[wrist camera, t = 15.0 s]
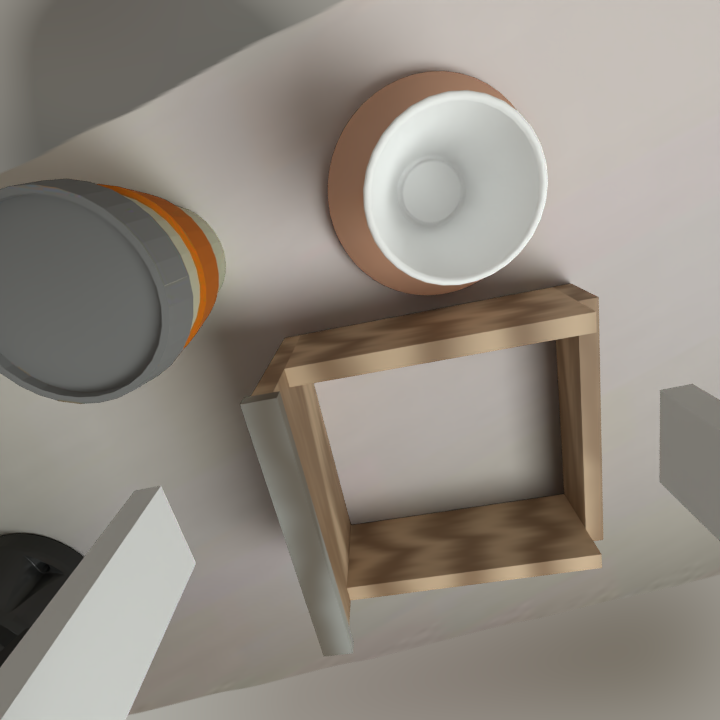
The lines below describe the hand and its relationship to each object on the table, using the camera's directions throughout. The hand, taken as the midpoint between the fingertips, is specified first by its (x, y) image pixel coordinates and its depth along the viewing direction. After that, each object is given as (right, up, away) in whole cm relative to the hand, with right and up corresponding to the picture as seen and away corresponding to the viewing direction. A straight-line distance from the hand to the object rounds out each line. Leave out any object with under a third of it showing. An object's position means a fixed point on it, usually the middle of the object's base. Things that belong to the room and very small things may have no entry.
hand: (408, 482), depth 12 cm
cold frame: (+6, -3, +31) cm, 32 cm away
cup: (+4, +16, +23) cm, 28 cm away
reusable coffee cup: (-17, +12, +27) cm, 34 cm away
